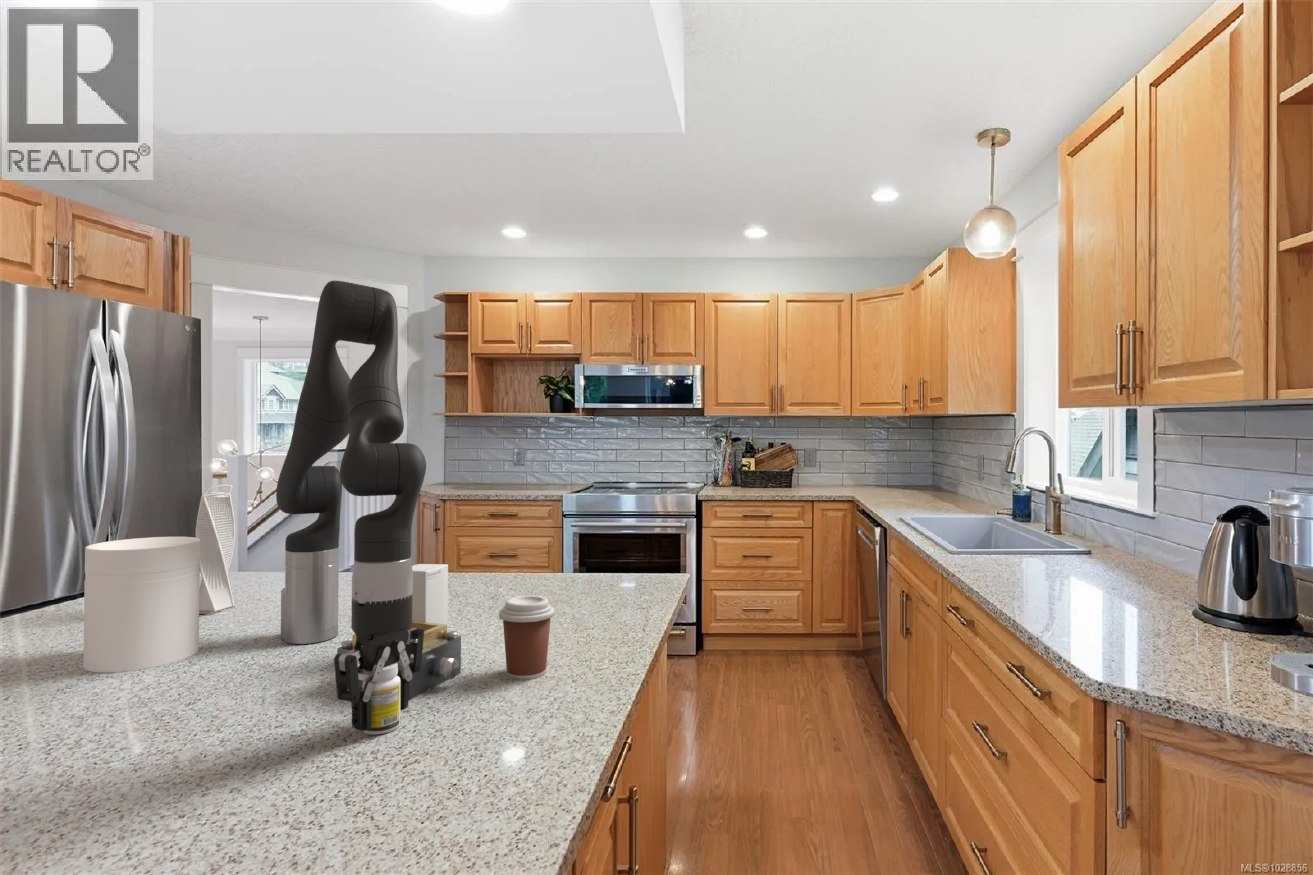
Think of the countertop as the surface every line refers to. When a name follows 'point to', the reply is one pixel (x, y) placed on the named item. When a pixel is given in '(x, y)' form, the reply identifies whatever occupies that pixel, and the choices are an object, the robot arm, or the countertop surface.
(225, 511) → the skyscraper
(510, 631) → the coffee cup
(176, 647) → the canister
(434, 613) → the skincare box
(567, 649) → the countertop surface
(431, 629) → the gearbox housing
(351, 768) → the countertop surface
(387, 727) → the supplement bottle
